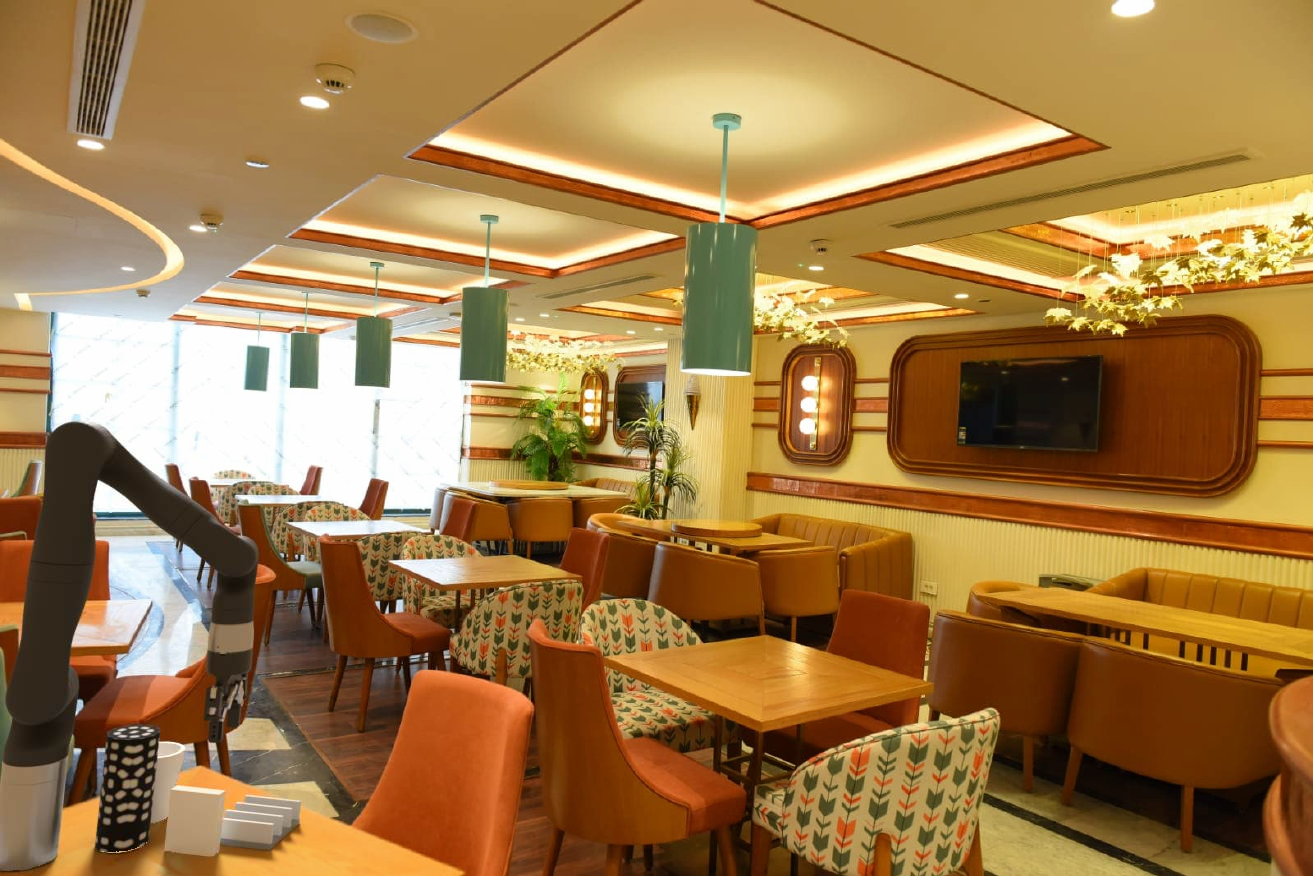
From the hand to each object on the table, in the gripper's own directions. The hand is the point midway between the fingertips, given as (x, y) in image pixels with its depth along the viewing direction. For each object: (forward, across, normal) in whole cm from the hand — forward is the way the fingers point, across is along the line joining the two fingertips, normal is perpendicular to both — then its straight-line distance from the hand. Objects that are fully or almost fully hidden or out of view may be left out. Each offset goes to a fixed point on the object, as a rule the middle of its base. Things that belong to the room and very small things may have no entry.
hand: (224, 734), depth 157 cm
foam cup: (+20, -11, -16) cm, 28 cm away
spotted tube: (+20, 0, -16) cm, 26 cm away
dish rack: (+20, -6, +5) cm, 22 cm away
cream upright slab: (+20, +2, -3) cm, 21 cm away
